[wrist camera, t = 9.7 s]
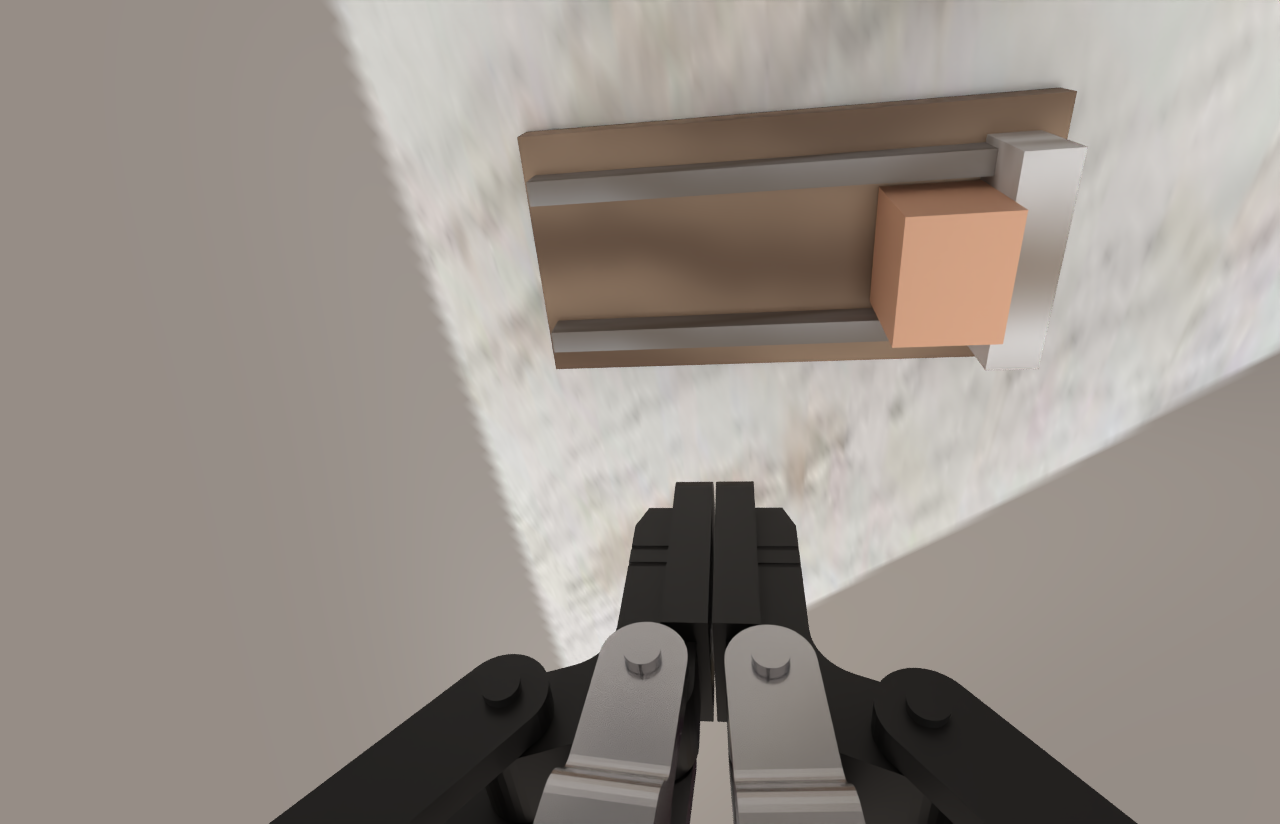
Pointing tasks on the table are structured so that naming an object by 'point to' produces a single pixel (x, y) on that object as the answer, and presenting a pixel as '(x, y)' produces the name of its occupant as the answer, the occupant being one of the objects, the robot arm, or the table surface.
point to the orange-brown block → (945, 263)
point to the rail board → (780, 226)
